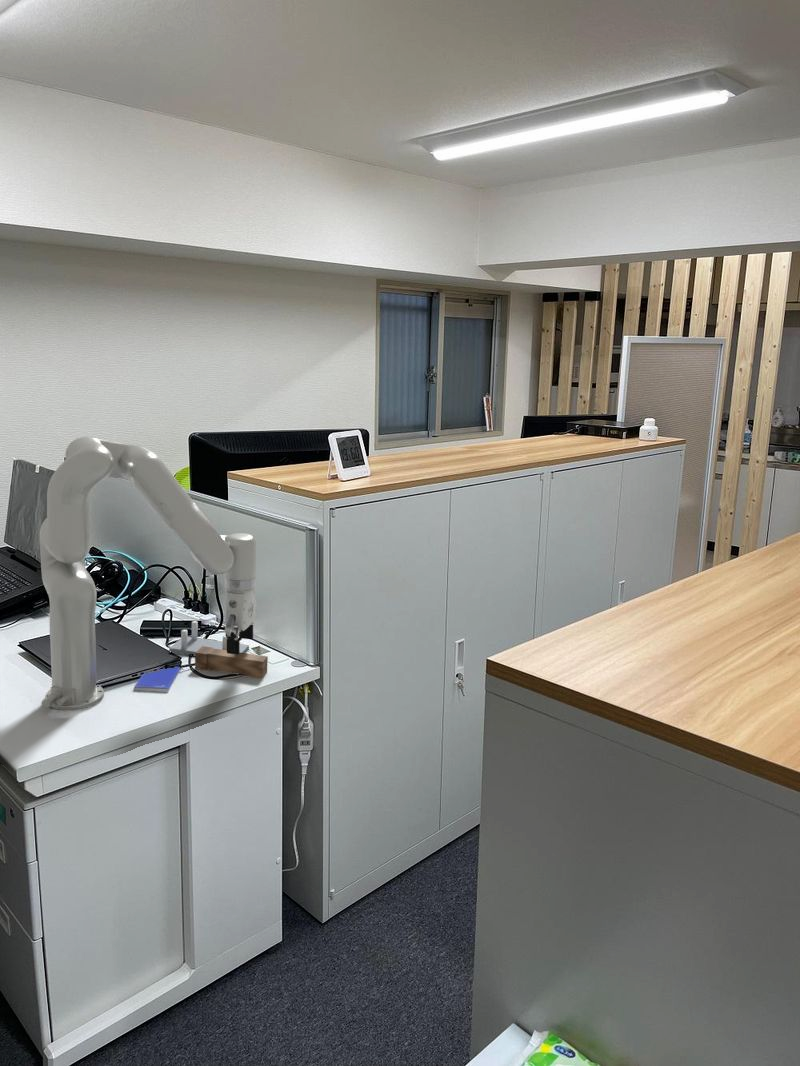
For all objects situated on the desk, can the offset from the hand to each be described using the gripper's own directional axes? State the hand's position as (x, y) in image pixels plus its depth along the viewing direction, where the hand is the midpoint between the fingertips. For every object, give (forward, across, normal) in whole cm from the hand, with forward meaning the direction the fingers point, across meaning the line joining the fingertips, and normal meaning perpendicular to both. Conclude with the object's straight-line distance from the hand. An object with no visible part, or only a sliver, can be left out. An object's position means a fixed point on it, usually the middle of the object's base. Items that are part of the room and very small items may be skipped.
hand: (240, 645), depth 202 cm
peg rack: (+7, +9, +12) cm, 16 cm away
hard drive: (+7, -12, +17) cm, 22 cm away
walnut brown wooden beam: (+7, -1, +2) cm, 7 cm away
